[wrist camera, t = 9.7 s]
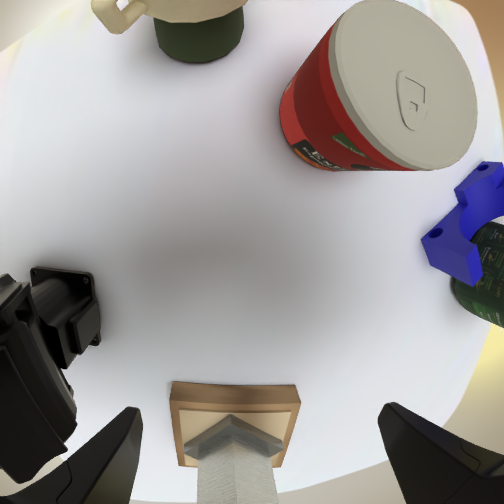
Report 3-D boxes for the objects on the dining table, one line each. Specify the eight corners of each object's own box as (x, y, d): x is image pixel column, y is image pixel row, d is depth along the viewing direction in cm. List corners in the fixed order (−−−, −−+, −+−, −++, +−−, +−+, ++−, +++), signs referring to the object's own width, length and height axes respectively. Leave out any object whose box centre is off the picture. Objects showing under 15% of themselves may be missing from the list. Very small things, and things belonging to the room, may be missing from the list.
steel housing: (184, 443, 21) (177, 542, 11) (230, 413, 21) (239, 529, 10) (235, 466, 23) (243, 554, 12) (282, 440, 22) (305, 536, 12)
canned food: (280, 173, 19) (346, 168, 9) (272, 67, 17) (318, -22, 7) (377, 172, 20) (486, 177, 9) (367, 76, 18) (459, 25, 7)
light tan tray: (180, 449, 25) (178, 467, 22) (173, 381, 23) (168, 402, 20) (277, 451, 26) (281, 469, 24) (294, 384, 24) (302, 405, 21)
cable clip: (481, 161, 20) (524, 164, 15) (493, 198, 22) (533, 206, 16) (413, 224, 21) (461, 240, 15) (429, 264, 22) (472, 287, 17)
